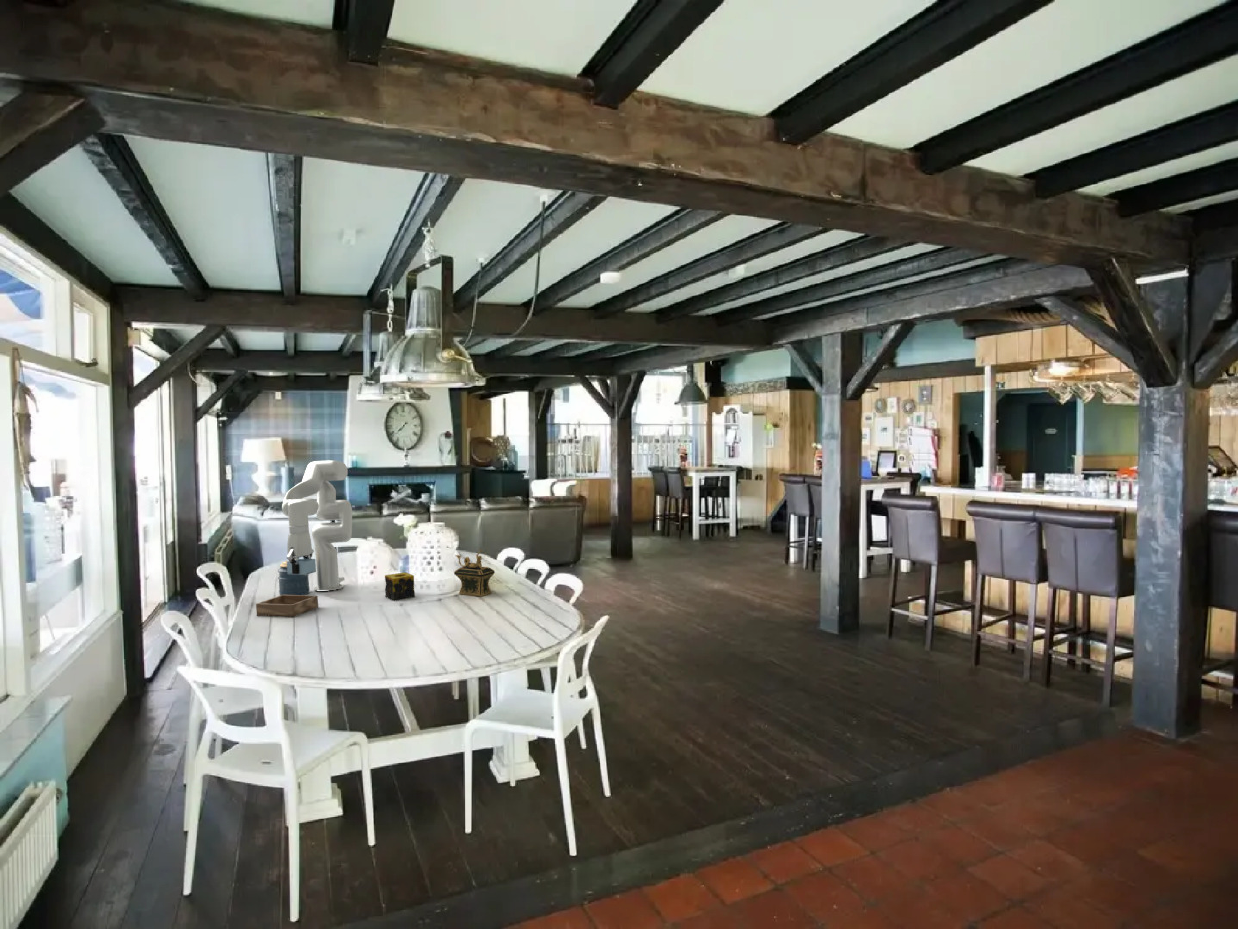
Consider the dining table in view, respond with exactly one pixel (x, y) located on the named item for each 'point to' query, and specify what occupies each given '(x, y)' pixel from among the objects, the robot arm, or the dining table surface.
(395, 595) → the black gold cube box
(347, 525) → the robot arm
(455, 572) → the decorative box
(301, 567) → the blue crate
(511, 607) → the dining table surface
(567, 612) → the dining table surface
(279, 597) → the walnut crate
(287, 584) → the canister
